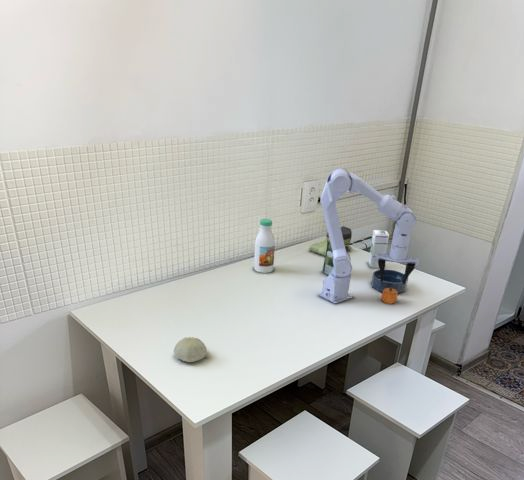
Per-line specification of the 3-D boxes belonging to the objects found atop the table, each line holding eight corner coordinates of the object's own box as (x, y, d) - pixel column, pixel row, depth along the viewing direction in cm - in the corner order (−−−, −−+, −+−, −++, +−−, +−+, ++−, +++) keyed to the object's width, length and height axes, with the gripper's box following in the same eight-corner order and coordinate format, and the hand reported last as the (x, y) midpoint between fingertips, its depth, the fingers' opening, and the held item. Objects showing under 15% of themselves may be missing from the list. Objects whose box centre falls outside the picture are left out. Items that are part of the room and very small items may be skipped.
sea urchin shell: (207, 340, 143) (206, 333, 135) (206, 366, 141) (205, 360, 133) (176, 339, 142) (173, 332, 135) (174, 365, 141) (171, 360, 133)
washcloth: (352, 250, 220) (354, 243, 219) (329, 259, 209) (330, 252, 207) (329, 242, 228) (330, 235, 226) (305, 251, 216) (306, 244, 214)
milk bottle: (251, 271, 193) (253, 221, 183) (257, 264, 200) (259, 216, 189) (270, 274, 192) (273, 224, 181) (275, 267, 198) (278, 218, 188)
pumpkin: (389, 305, 173) (392, 292, 171) (377, 300, 177) (380, 286, 174) (399, 302, 177) (402, 288, 174) (387, 296, 180) (389, 283, 177)
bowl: (391, 297, 180) (393, 286, 177) (363, 284, 188) (365, 273, 186) (412, 289, 187) (415, 278, 185) (385, 277, 195) (387, 266, 193)
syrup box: (383, 268, 203) (390, 234, 196) (369, 267, 203) (375, 233, 196) (381, 263, 208) (387, 230, 200) (367, 262, 208) (373, 229, 200)
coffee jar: (335, 267, 202) (341, 223, 192) (349, 274, 196) (356, 228, 187) (318, 272, 197) (323, 226, 187) (332, 278, 191) (338, 232, 182)
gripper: (421, 243, 168) (412, 279, 175) (378, 238, 170) (371, 274, 177) (422, 250, 162) (413, 287, 169) (378, 245, 164) (371, 282, 172)
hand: (392, 281), depth 173 cm, fingers open, 7 cm apart
